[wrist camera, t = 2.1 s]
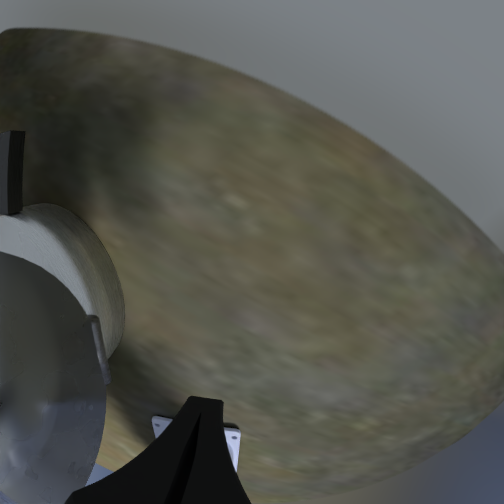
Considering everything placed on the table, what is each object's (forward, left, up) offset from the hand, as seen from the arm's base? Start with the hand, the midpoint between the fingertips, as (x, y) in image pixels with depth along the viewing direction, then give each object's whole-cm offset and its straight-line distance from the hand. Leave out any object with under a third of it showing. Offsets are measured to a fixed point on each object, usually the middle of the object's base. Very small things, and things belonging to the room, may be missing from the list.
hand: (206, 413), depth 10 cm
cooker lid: (0, +9, +6) cm, 10 cm away
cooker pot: (+3, +14, -8) cm, 17 cm away
